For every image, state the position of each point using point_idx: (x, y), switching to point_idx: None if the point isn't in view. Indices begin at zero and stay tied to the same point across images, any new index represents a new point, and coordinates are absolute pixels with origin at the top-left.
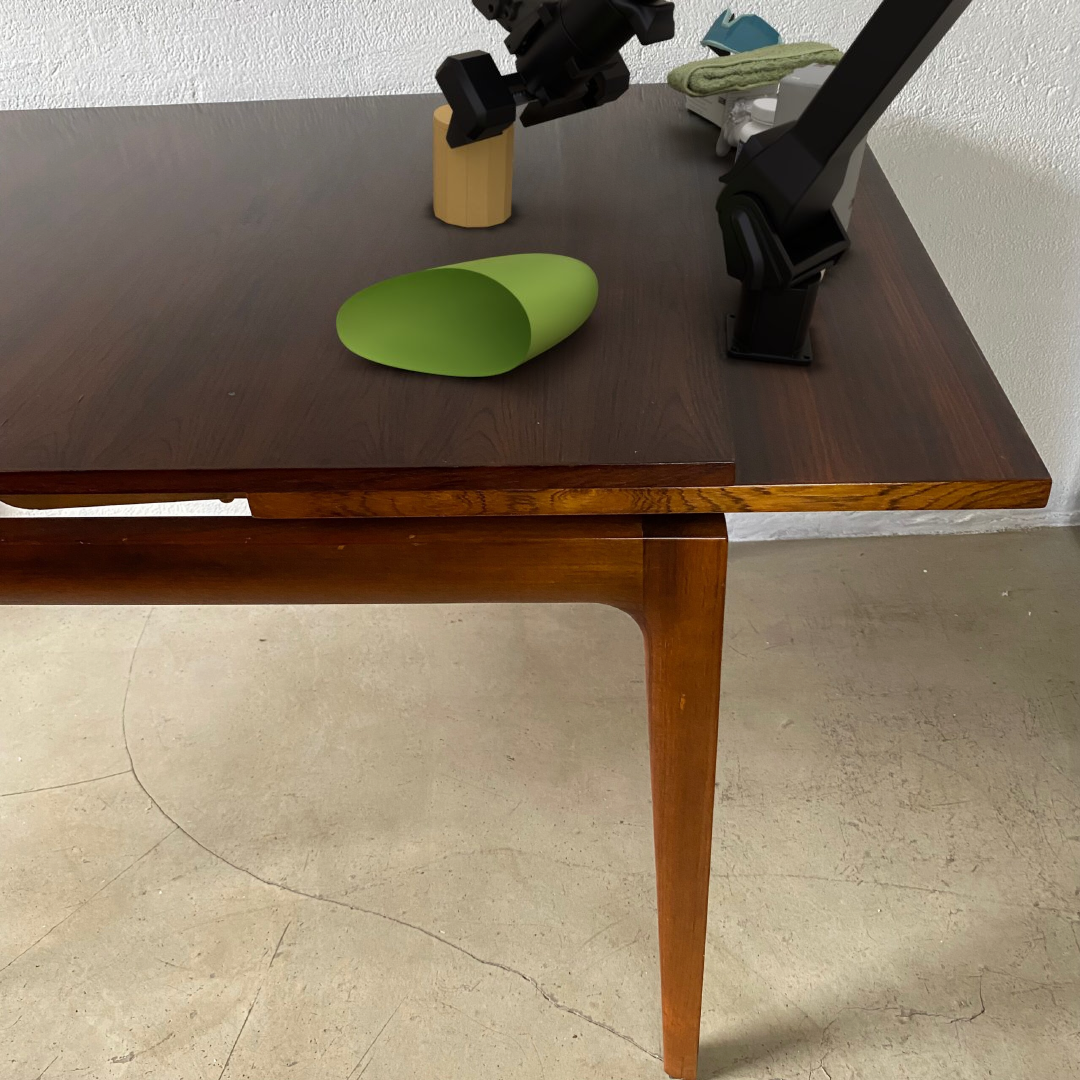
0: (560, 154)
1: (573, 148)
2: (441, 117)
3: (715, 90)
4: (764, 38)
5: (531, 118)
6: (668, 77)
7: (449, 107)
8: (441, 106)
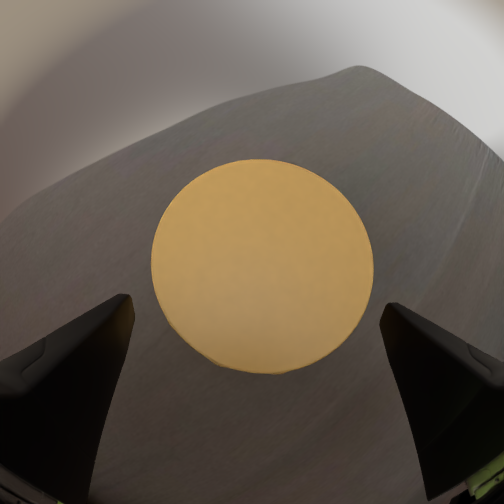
0: (454, 239)
1: (468, 237)
2: (178, 214)
3: None
4: None
5: (394, 344)
6: None
7: (257, 175)
8: (246, 160)
